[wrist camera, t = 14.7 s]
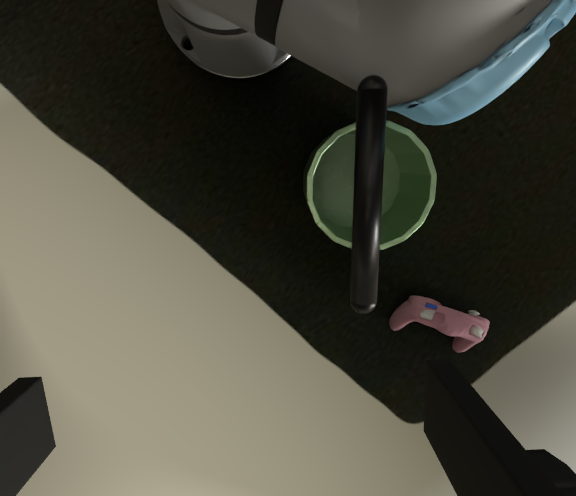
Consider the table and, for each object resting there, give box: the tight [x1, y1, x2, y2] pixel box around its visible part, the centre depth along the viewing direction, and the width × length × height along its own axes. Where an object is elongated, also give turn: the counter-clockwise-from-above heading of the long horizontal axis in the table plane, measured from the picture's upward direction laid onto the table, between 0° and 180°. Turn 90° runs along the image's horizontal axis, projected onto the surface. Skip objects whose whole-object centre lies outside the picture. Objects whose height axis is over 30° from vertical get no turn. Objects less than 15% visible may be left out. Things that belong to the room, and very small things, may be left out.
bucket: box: [303, 75, 437, 314], centre depth 31 cm, size 11×13×22 cm
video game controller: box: [389, 296, 489, 352], centre depth 43 cm, size 10×5×7 cm, turn 70°
